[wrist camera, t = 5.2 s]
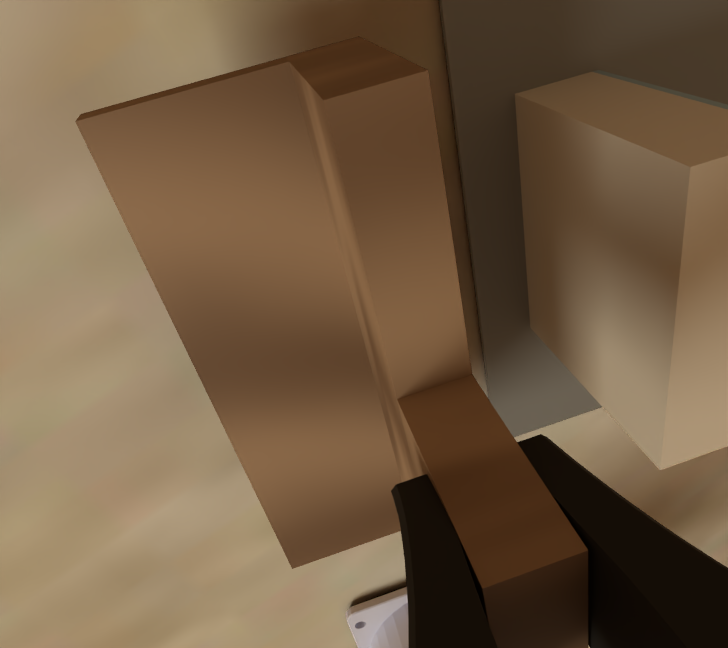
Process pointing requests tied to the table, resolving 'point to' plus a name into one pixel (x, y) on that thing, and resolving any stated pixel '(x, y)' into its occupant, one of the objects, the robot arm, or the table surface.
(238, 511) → the table surface
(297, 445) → the walnut scraper
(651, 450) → the light tan wooden block
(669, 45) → the charcoal mat
